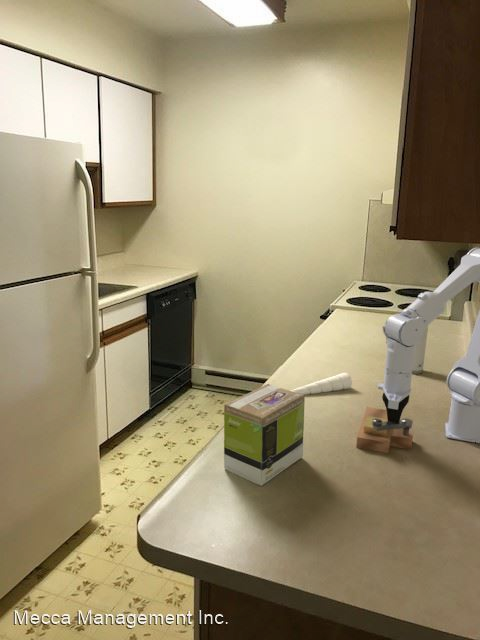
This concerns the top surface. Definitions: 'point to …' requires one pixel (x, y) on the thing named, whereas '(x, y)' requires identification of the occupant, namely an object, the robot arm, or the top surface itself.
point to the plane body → (383, 443)
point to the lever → (391, 424)
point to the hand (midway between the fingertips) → (392, 424)
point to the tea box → (263, 433)
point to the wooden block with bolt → (369, 427)
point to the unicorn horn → (327, 385)
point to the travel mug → (419, 354)
